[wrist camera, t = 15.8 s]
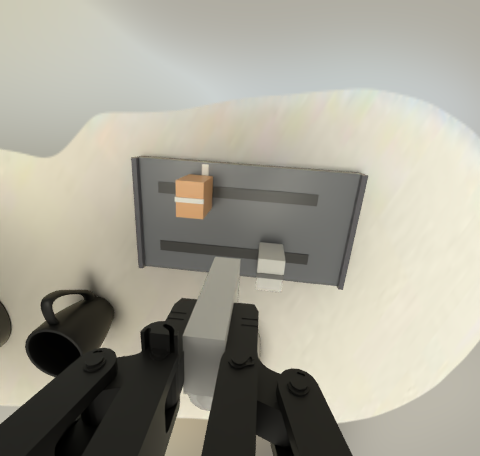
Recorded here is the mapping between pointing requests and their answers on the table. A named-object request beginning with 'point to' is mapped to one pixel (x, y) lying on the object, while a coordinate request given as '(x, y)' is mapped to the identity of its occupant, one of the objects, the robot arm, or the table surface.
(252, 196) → the console
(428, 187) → the table surface
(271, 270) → the fader
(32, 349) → the mug
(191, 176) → the fader
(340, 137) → the table surface
